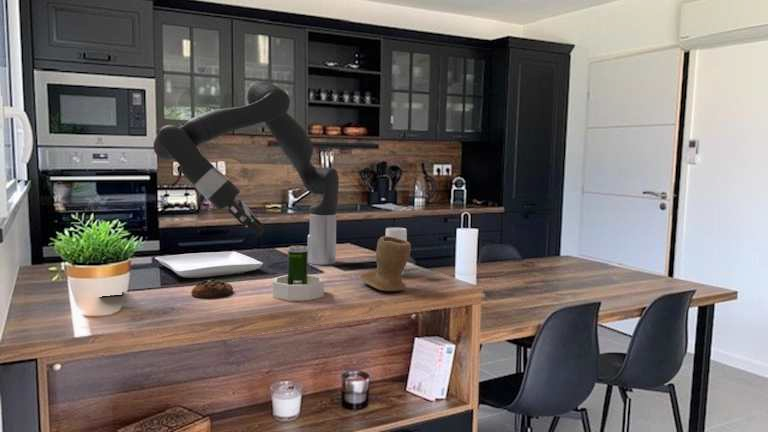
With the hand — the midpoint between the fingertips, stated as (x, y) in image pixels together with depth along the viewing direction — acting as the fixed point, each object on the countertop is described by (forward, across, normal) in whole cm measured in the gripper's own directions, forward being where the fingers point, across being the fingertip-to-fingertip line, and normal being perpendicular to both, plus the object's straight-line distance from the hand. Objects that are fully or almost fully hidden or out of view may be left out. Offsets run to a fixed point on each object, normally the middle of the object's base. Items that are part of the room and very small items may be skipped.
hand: (262, 232), depth 153 cm
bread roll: (+3, +3, +22) cm, 22 cm away
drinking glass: (+41, +23, -17) cm, 50 cm away
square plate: (0, +36, +26) cm, 44 cm away
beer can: (+18, 0, +5) cm, 19 cm away
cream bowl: (+19, 0, +5) cm, 20 cm away
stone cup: (+37, +6, -13) cm, 40 cm away
